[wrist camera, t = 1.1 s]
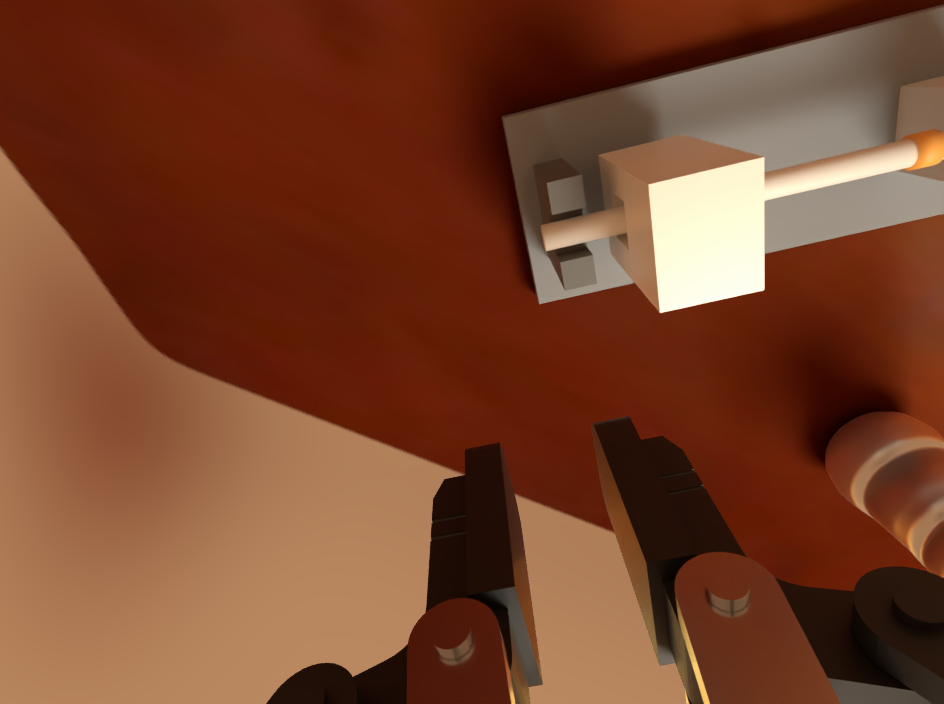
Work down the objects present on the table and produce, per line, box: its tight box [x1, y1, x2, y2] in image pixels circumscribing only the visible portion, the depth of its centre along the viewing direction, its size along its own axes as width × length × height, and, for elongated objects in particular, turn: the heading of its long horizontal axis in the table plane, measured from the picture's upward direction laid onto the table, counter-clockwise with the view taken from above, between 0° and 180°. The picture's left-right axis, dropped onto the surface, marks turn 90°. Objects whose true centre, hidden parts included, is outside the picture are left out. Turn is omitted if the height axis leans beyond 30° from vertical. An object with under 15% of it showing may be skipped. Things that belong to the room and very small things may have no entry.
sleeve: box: [598, 135, 764, 313], centre depth 24 cm, size 5×4×8 cm
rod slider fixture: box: [501, 4, 944, 304], centre depth 26 cm, size 10×22×10 cm, turn 103°
